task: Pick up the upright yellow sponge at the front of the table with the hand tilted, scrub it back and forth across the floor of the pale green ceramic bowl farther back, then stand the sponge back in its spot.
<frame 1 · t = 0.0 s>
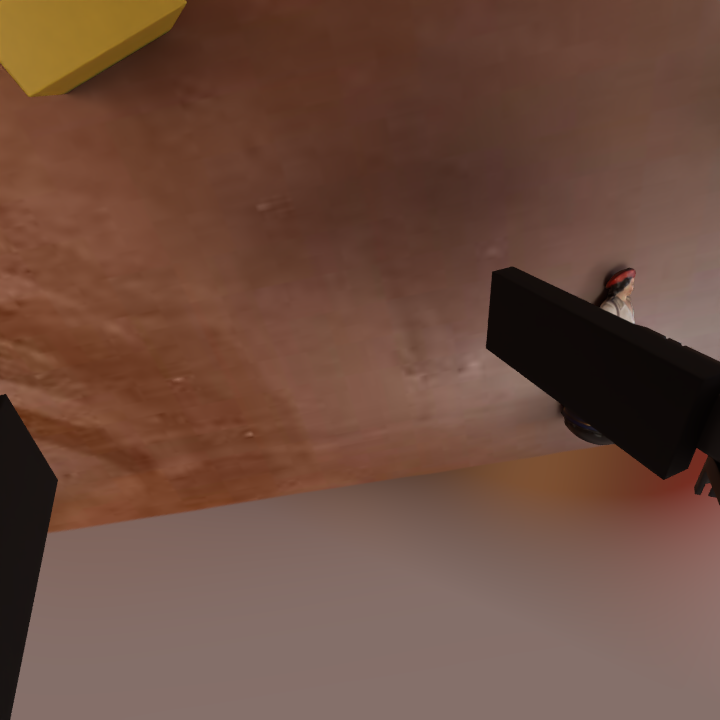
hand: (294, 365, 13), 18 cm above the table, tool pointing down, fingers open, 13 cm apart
sponge: (85, 15, 21), on the table
figurine: (590, 347, 47), on the table
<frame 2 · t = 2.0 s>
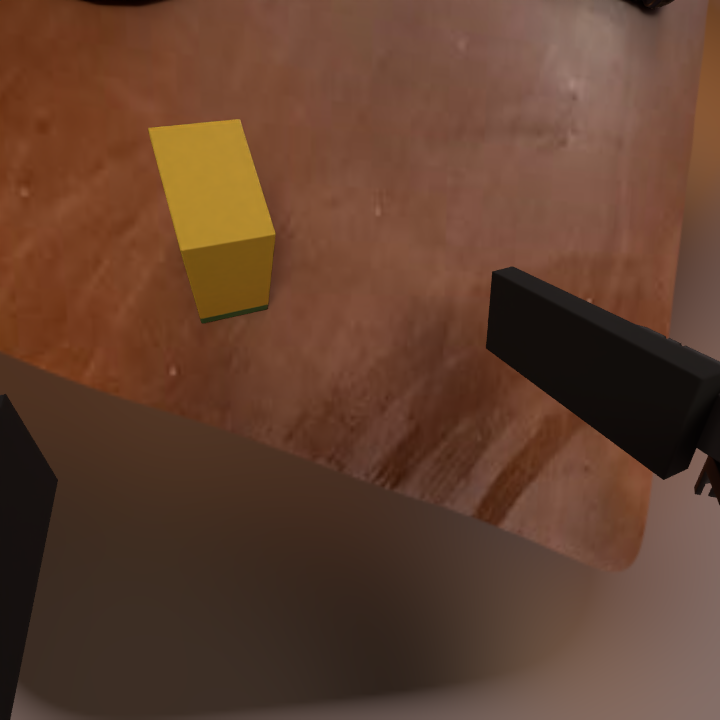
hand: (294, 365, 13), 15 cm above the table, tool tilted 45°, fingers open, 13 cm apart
sponge: (222, 272, 28), on the table
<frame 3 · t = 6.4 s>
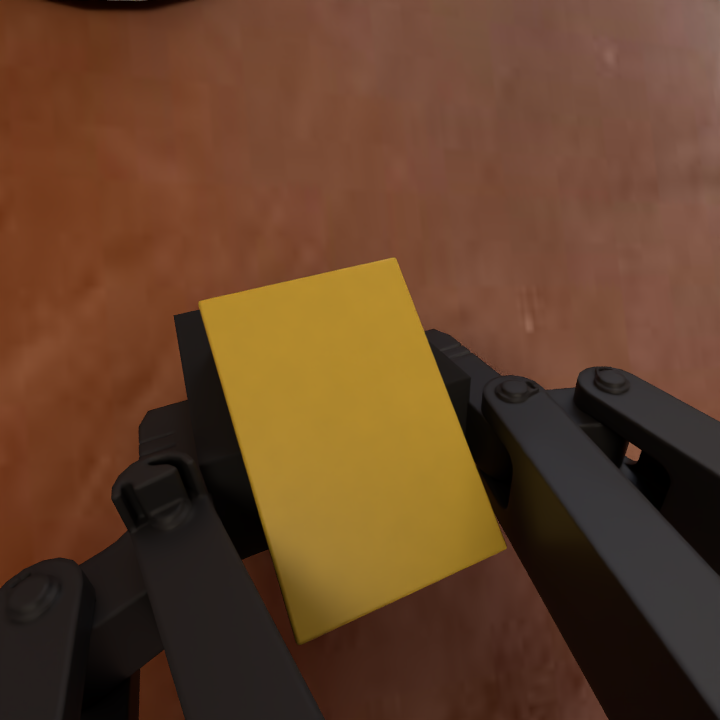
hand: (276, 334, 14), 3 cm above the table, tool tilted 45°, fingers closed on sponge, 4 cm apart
sponge: (302, 457, 17), on the table, touching gripper
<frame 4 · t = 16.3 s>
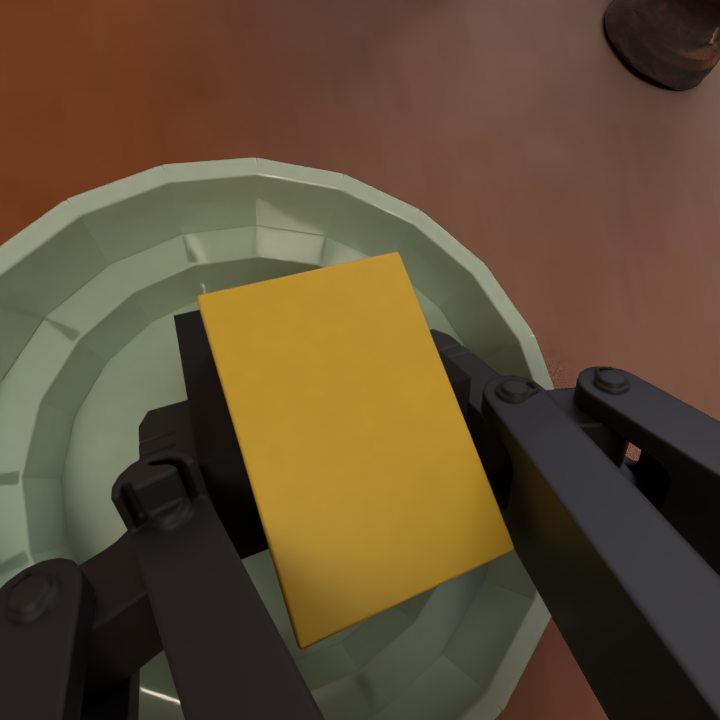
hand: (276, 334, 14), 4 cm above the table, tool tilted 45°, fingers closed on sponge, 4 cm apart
bowl: (267, 460, 17), on the table, touching sponge
sponge: (302, 458, 17), point 1 cm above the table, touching bowl, gripper
mortar and pestle: (667, 68, 28), on the table
when the fingers open (3 cm above the table, at t = 26.4 s): sponge stays where it is, on the table.
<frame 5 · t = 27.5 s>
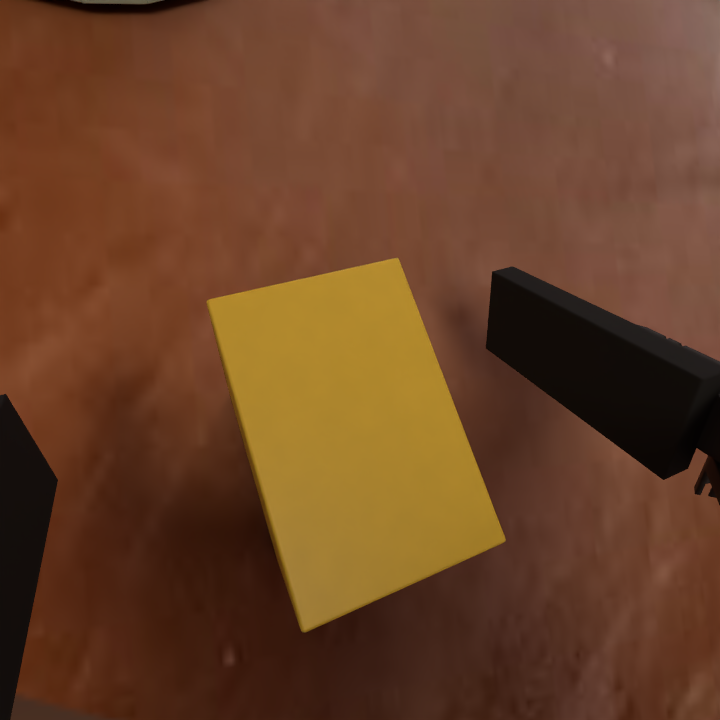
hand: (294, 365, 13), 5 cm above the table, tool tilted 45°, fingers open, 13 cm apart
sponge: (305, 455, 17), on the table
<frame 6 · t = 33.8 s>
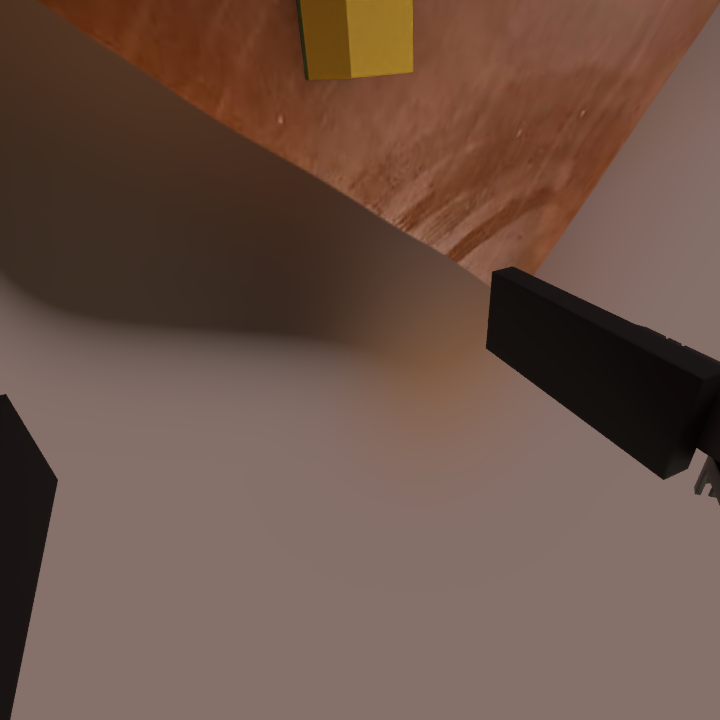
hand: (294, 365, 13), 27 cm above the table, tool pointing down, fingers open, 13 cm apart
sponge: (326, 28, 32), on the table
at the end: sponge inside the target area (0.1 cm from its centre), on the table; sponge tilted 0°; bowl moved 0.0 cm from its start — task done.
